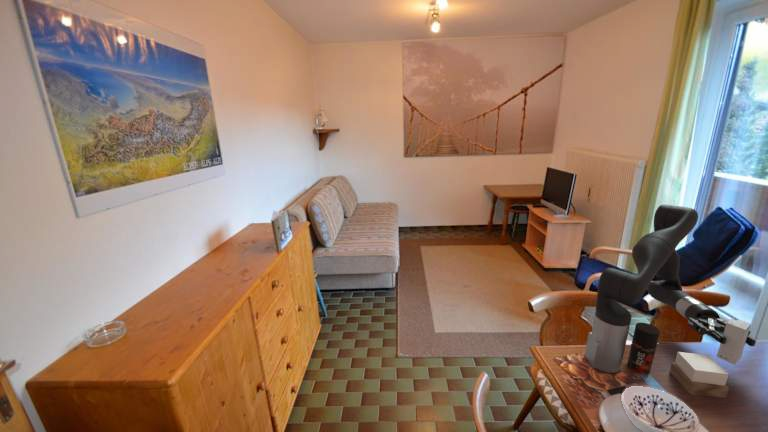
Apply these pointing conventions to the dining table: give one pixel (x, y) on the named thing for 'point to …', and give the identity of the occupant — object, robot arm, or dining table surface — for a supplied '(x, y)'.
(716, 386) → the walnut block
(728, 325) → the skincare box
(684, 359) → the offwhite block
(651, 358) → the deodorant
